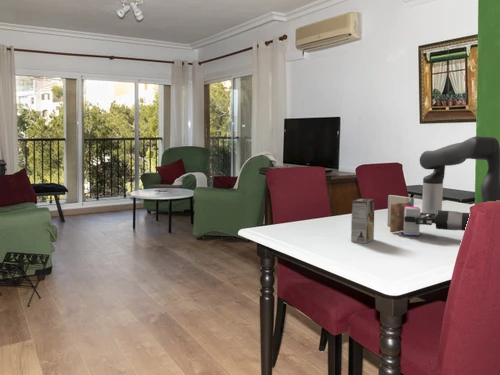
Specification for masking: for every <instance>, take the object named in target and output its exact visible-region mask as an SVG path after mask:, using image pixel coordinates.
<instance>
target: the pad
mask: <svg viewBox="0 0 500 375" xmlns="http://www.w3.org/2000/svg"><path fill="white" fill-rule="evenodd" d="M422 235H423V233H419V236H404V234H403V231H401V232H400V234H399V235H398V237H403V238H411V239H413V238H414V239H421V237H422Z"/></svg>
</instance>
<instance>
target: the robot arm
mask: <svg viewBox="0 0 500 375" xmlns="http://www.w3.org/2000/svg"><path fill="white" fill-rule="evenodd" d="M467 159H468V160H469V159H470V160H483V161H484V160H485V161H486V162H487V168H488V170H487V172H486V175H485V177H484V179H483V181H482V182H481V185H480V186H481V187H480V193H481V200H482V203H483V202H487V201H496V200H500V142H499V140H498V139H497V138H495V137H493V136H479V135H478V136H473V137H470V138H467V139H466V140H464V141H462V142H456V143H453V144H448V145H446V146H443V147H440V148H437V149H435V150H426V151H423V152H422V153H421V154H420V157H419V164H420V166H421V168H423V169H425V170H433V171H432V173H430V174H428V175H426V176H424V177H423V178H422V202H421V211H420V216H419V217H410V216H405V222H415V223H416V224H420V225H423V226H432V225H433V224H435V228H436V229H437V230H444V231H445V230H446V231H447V230H448V231H465V227H466V224H467V221H468V218H469V214H470V213H471V212H461V211H457V210H456V211H455V210H443V191H444V190H443V189H444V179H445V170H446V167H447V166H448V167H449V166H458V165H460V164H461V165H462V164H463V163H464V162H466V160H467ZM419 219H420V221H419Z"/></svg>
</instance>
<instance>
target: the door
mask: <svg viewBox="0 0 500 375" xmlns="http://www.w3.org/2000/svg"><path fill="white" fill-rule="evenodd" d="M405 206H408V207H410V202H402V203H394V204H391V219H390V226H389V233H397V232H403V225H404V207H405Z"/></svg>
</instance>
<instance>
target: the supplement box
mask: <svg viewBox="0 0 500 375" xmlns="http://www.w3.org/2000/svg"><path fill="white" fill-rule="evenodd" d="M420 213H421V208H420V207H419V206H414V207H408V206H405V207H404V225H403V231H402V232H403V234H404V236H419V234H420V225H421V224H416V223H415V222H405V216H410V217H419V216H420ZM419 221H420V219H419Z"/></svg>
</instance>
